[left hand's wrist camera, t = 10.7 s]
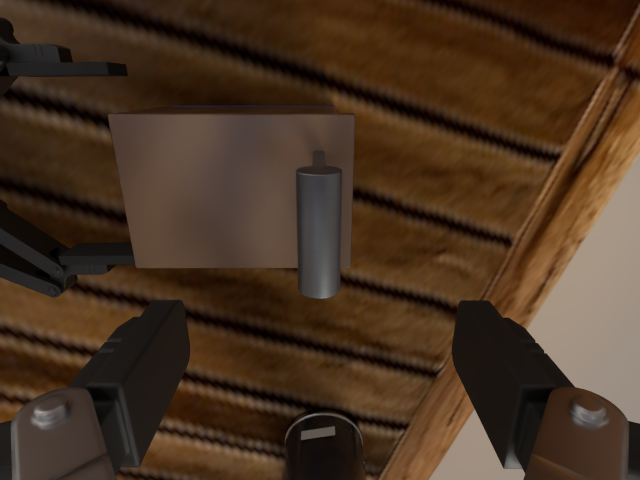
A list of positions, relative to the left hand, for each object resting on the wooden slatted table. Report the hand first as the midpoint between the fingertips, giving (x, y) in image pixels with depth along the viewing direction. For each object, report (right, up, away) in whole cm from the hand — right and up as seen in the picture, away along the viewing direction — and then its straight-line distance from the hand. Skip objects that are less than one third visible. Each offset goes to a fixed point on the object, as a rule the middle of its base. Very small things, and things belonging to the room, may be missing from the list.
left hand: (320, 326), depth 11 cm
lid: (-5, +6, +15) cm, 16 cm away
